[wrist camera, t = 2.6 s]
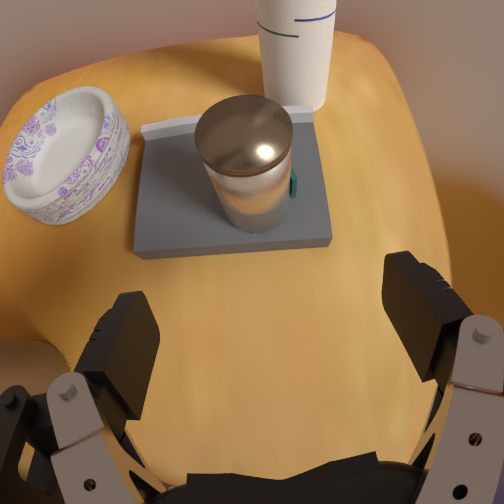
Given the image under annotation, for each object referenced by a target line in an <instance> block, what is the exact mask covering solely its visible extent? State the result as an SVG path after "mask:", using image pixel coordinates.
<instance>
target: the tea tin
mask: <svg viewBox="0 0 504 504" xmlns="http://www.w3.org/2000/svg"><path fill="white" fill-rule="evenodd" d="M292 139H293V125H292V121H291V118H290V116H289V114H288V113H287V112H286V110H285V109H284V108H283V107H282V106H281V105H279V104H278V103H276V102H275V101H273V100H271V99H268V98H265V97H262V96H256V95H240V96H234V97H230V98H227V99H224V100H222V101H220V102H218V103H216V104H214V105H213V106H211V107H210V108H209V109H208V110H207V111H206V112H205V113H204V114H203V115H202V116H201V118H200V119H199V121H198V123H197V125H196V128H195V132H194V141H195V145H196V148H197V150H198V153H199V155H200V157H201V159H202V160H203V162H204V165H205V167H206V169H207V172H208V174H209V176H210V179H211V181H212V183H213V186H214V188H215V191H216V193H217V195H218V198H219V200H220V202H221V205H222V207H223V209H224V212H225V214H226V216H227V218H228V220H229V221H230V223H231V224H232V225H233V226H234V227H236V228H237V229H239V230H241V231H243V232H246V233H251V234H260V233H265V232H268V231H271V230H273V229H274V228H276V227H277V226H279V225H280V224H281V223H282V221H283V220H284V219H285V217H286V215H287V213H288V210H289V197H291V199H292V198H295V197H296V191H297V180H298V178H297V176H296V174H295V173H294V171H293V169H292V167H291V145H292Z"/></svg>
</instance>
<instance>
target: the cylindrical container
mask: <svg viewBox="0 0 504 504" xmlns="http://www.w3.org/2000/svg"><path fill="white" fill-rule="evenodd" d="M255 5H256V14H257V23H258V32H259V42H260V53H261V63H262V73H263V84H264V95H265V98H268V99H271V100H273V101H275V102H276V103H278V104H279V105H281V106H297V105H312V106H313V110H314V111H316V110H317V109H319V108H320V107H321V106H322V105H323V103H324V101H325V96H326V89H327V81H328V74H329V66H330V57H331V49H332V40H333V31H334V21H335V11H336V10H335V8H336V0H255Z"/></svg>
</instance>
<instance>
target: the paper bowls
mask: <svg viewBox="0 0 504 504" xmlns="http://www.w3.org/2000/svg"><path fill="white" fill-rule="evenodd" d="M129 147H130V129H129V126H128V123H127V121H126V120H125V118H124V116H123V115H122V113H121V112H120V110H119V108H118V107H117V105H116V104H115V102H114V101H113V99H112V97H111V96H110V95H109V94H108V93H107V92H106V91H104V90H103V89H101V88H98V87H93V86H83V87H77V88H74V89H71V90H68V91H66V92H64V93H62V94H60V95H58V96H56V97H54V98H53V99H51V100H50V101H49V102H47V103H46V104H45V105H43V106H42V107H41V108H40V109H39V110H38V111H37V112H36V113H35V114H34V115H33V116H32V117H31V118H30V119H29V120H28V121H27V122H26V124H25V125H24V126H23V128H22V129H21V131H20V132H19V134H18V135H17V137H16V138H15V140H14V142H13V144H12V146H11V148H10V151H9V153H8V156H7V159H6V162H5V166H4V172H3V186H4V191H5V194H6V197H7V199H8V200H9V202H10V203H11V204H12V205H13V206H14V207H16V208H18V209H20V210H21V211H22V212H24V213H26V214H27V215H28V216H30V217H33V218H34V219H36V220H38V221H39V222H42V223H45V224H48V225H63V224H66V223H68V222H72V221H74V220H76V219H77V218H79V217H80V216H81V215H83V214H84V213H86V212H87V211H89V210H90V209H92V207H93V206H95V205H96V204H97V202H98V201H100V200H101V199H102V198H103V197H104V196H105V195H106V193H107V192H108V191H109V190H110V188H111V187H112V185H113V184H114V183H115V181H116V180H117V178H118V176H119V174H120V173H121V170H122V169H123V166H124V164H125V162H126V158H127V154H128V151H129Z"/></svg>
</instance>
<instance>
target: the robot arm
mask: <svg viewBox="0 0 504 504" xmlns="http://www.w3.org/2000/svg"><path fill="white" fill-rule="evenodd" d="M382 303H383V307H384V310H385V312H386V314H387V315H388V317H389V319H390V321H391V323H392V324H393V326H394V328H395V330H396V332H397V334H398V336H399V337H400V339H401V341H402V343H403V345H404V347H405V349H406V351H407V353H408V355H409V357H410V359H411V361H412V363H413V365H414V366H415V368H416V371H417V373H418V375H419V377H420V379H421V381H422V383H423V382H426V381H429V380H432V379H435V380H436V382H437V384H438V385H437V387H436V389H435V393H434V396H433V400H432V403H431V406H430V410H429V413H428V416H427V419H426V422H425V425H424V428H423V431H422V434H421V436H420V439H419V441H418V444H417V446H416V448H415V450H414V452H413V454H412V456H411V458H410V460H409V462H408V464H405V463H400V462H394V461H378V459H377V455H376V452H375V451H374V452H370V453H366V454H362V455H358V456H354V457H350V458H345V459H341V460H336V461H331V462H328V463H326V464H323V465H321V466H319V467H316V468H314V469H311V470H309V471H306V472H304V473H301V474H298V475H296V476H293V477H290V478H287V479H284V480H274V479H266V478H258V477H252V476H245V475H239V474H234V473H223V474H189V473H187V482H186V484H184V485H180V486H177V487H174V488H171V489H169V490H167V489H166V488H165V487H164V486H163V485H162V483H161V482H160V481H159V480H158V479H157V478H156V477H155V475H154V474H153V473H152V471H151V470H150V468H149V467H148V465H147V463H146V462H145V460H144V458H143V457H142V455H141V453H140V452H139V450H138V448H137V446H136V445H135V443H134V441H133V439H132V438H131V436H130V434H129V432H128V431H127V429H126V428H125V425H126V421H127V420H140V418H141V414H142V410H143V406H144V401H145V397H146V393H147V389H148V385H149V381H150V377H151V373H152V369H153V366H154V362H155V358H156V354H157V351H158V347H159V343H160V332H159V328H158V325H157V322H156V320H155V318H154V315H153V313H152V311H151V308H150V306H149V304H148V301H147V299H146V297H145V295H144V293H143V292H142V291H135V292H127V293H121V294H119V296H118V297H117V299H116V301H115V303H114V305H113V307H112V309H109V310H108V311H107V312H106V313H105V314H104V315H103V316H102V317H101V318H100V319H99V320H98V322H97V324H96V326H95V328H94V332H92V334H91V336H90V338H89V341H88V342H87V344H86V346H85V348H84V350H83V352H82V354H81V357H80V359H79V361H78V363H77V365H76V367H75V369H74V372H70V371H69V368H68V366H67V364H66V361H65V360H64V358H63V357H62V355H61V354H60V353H59V351H58V350H57V349H56V348H55V347H53V346H52V345H51V344H49V343H47V342H44V341H35V340H26V339H19V338H11V337H3V336H0V504H64V501H65V503H66V504H492V502H493V499H494V496H495V492H496V488H497V484H498V481H499V476H500V472H501V468H502V463H503V458H504V329H502V327H501V325H500V324H499V323H498V322H497V321H495V320H494V319H492V318H490V317H488V316H484V315H474V314H473V313H472V312H471V310H470V309H469V308H468V307H467V305H466V304H465V303H464V302H463V301H462V299H461V298H460V297H459V296H458V295H457V293H456V292H455V291H454V290H453V289H451V286H450V285H449V284H448V283H447V282H446V281H444V278H443V277H442V276H441V275H440V274H439V273H438V272H437V270H436V269H434V268H432V267H430V266H429V265H427V264H425V263H419V262H418V261H417V259H416V258H415V257H414V256H413V255H412V254H411V253H410V252H409V251H402V252H396V253H390V254H387V255H386V256H385V259H384V272H383V284H382ZM25 442H27V443H28V444H29V445H31V446H32V447H33V448H34V449H35V451H34V455H33V458H32V461H31V465H30V468H29V472H28V476H27V480H26V482H25V481H24V480H22V478H21V477H20V475H19V473H18V464H19V461H20V457H21V454H22V451H23V448H24V445H25Z"/></svg>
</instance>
